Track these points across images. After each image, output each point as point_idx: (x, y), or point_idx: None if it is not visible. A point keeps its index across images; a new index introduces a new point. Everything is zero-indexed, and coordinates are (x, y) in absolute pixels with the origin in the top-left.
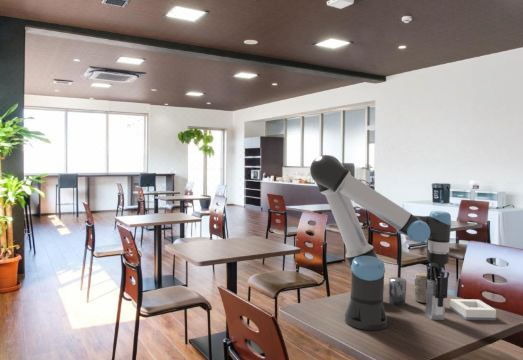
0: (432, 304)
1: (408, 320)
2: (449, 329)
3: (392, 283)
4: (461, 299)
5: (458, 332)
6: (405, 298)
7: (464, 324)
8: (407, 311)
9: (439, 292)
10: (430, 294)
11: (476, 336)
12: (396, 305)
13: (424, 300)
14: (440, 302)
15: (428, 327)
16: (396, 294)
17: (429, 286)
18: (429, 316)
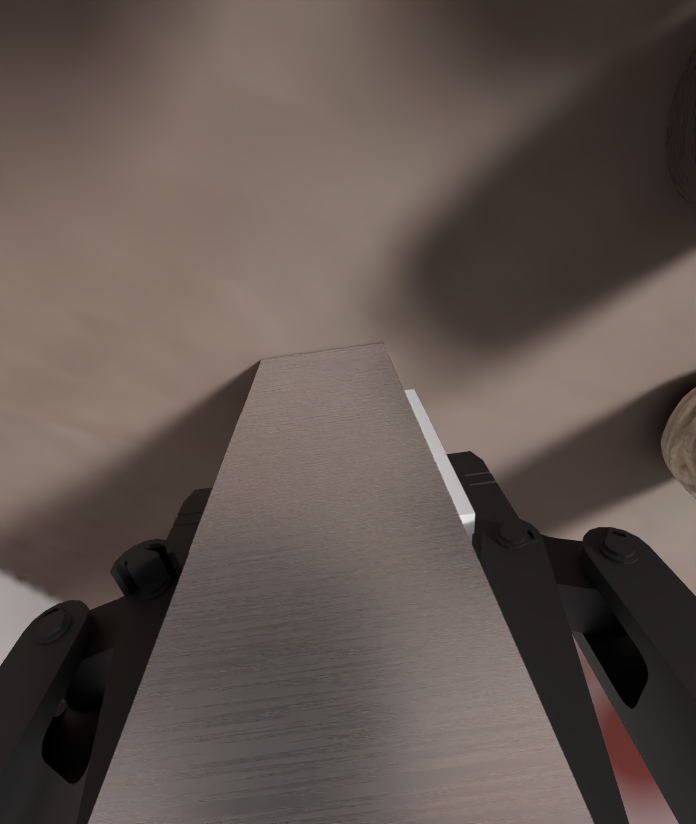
0: (234, 440)
1: (158, 71)
2: (75, 440)
3: None
4: None
5: (41, 482)
6: None
7: None
8: (473, 163)
9: (42, 694)
10: (287, 510)
11: (25, 561)
12: (690, 60)
13: (679, 426)
14: (172, 544)
15: (28, 269)
16: None
17: (360, 636)
18: (301, 359)
